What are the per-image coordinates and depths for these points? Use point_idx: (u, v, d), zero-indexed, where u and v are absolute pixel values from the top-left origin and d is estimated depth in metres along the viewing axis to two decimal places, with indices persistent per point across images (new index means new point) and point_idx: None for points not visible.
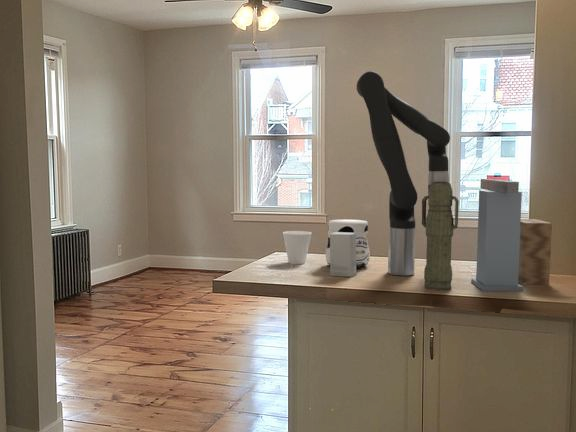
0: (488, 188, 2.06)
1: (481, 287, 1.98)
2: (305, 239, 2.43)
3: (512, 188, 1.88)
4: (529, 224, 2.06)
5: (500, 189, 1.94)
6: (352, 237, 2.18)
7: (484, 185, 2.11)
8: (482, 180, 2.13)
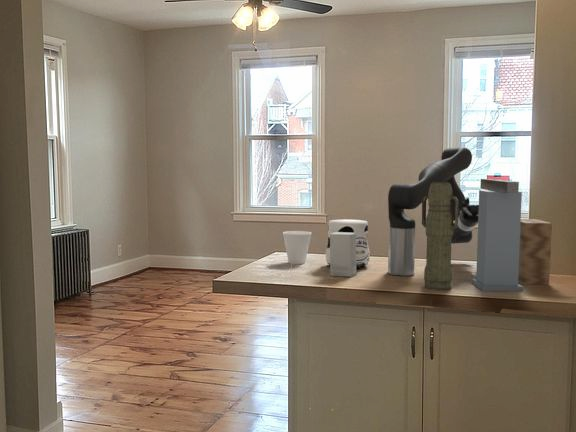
0: (488, 188, 2.06)
1: (481, 287, 1.98)
2: (305, 239, 2.43)
3: (512, 188, 1.88)
4: (529, 224, 2.06)
5: (500, 189, 1.94)
6: (352, 237, 2.18)
7: (484, 185, 2.11)
8: (482, 180, 2.13)
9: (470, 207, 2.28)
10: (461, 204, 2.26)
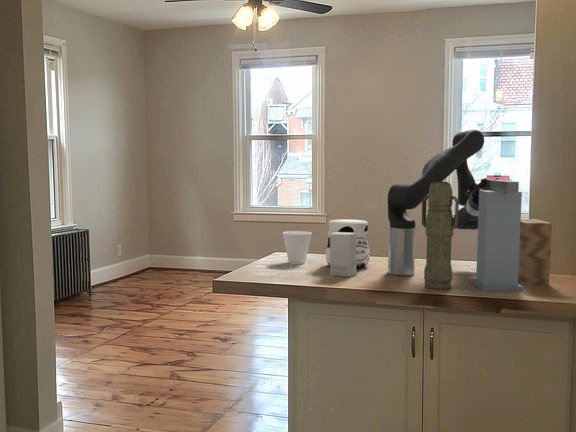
0: (488, 188, 2.06)
1: (481, 287, 1.98)
2: (305, 239, 2.43)
3: (512, 188, 1.88)
4: (529, 224, 2.06)
5: (500, 189, 1.94)
6: (352, 237, 2.18)
7: None
8: None
9: (483, 189, 2.15)
10: (478, 185, 2.12)
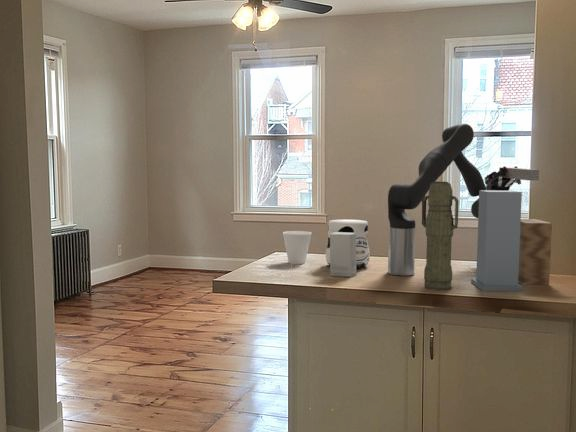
0: (507, 176, 2.16)
1: (481, 287, 1.98)
2: (305, 239, 2.43)
3: (532, 176, 1.97)
4: (529, 224, 2.06)
5: (520, 177, 2.04)
6: (352, 237, 2.18)
7: None
8: None
9: (502, 178, 2.25)
10: (497, 173, 2.22)
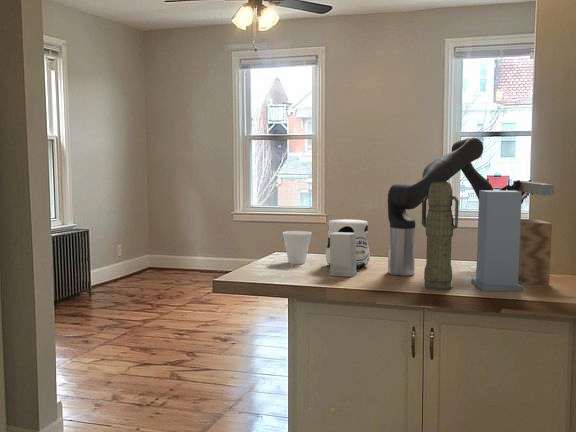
0: (522, 190, 2.16)
1: (481, 287, 1.98)
2: (305, 239, 2.43)
3: (547, 191, 1.97)
4: (529, 224, 2.06)
5: (535, 191, 2.04)
6: (352, 237, 2.18)
7: None
8: None
9: None
10: (511, 186, 2.22)
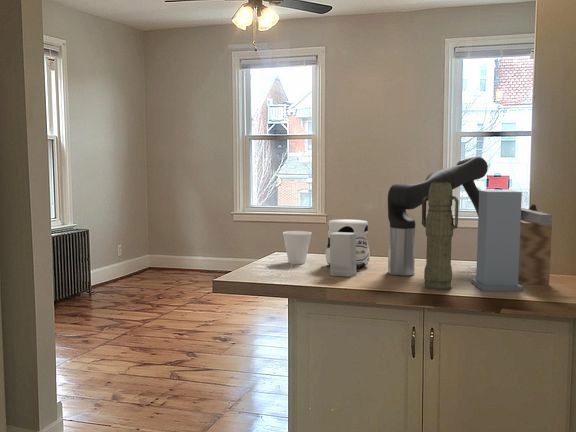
0: None
1: (481, 287, 1.98)
2: (305, 239, 2.43)
3: (545, 221, 1.98)
4: (529, 224, 2.06)
5: (533, 220, 2.05)
6: (352, 237, 2.18)
7: None
8: None
9: None
10: None
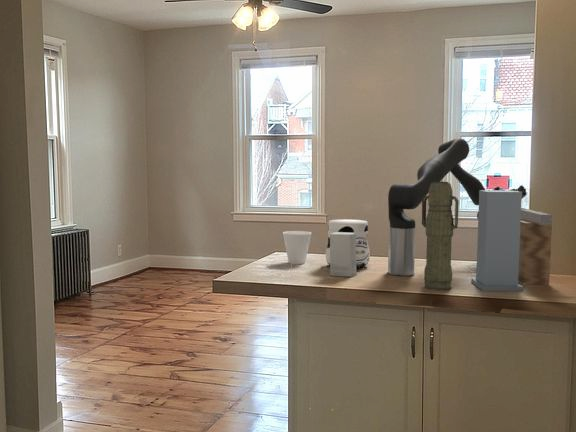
0: None
1: (481, 287, 1.98)
2: (305, 239, 2.43)
3: (545, 221, 1.98)
4: (529, 224, 2.06)
5: (533, 220, 2.05)
6: (352, 237, 2.18)
7: None
8: None
9: None
10: None
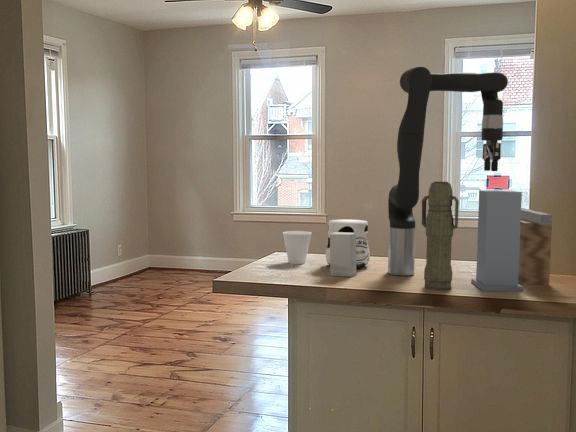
0: None
1: (481, 287, 1.98)
2: (305, 239, 2.43)
3: (545, 221, 1.98)
4: (529, 224, 2.06)
5: (533, 220, 2.05)
6: (352, 237, 2.18)
7: None
8: None
9: None
10: None
